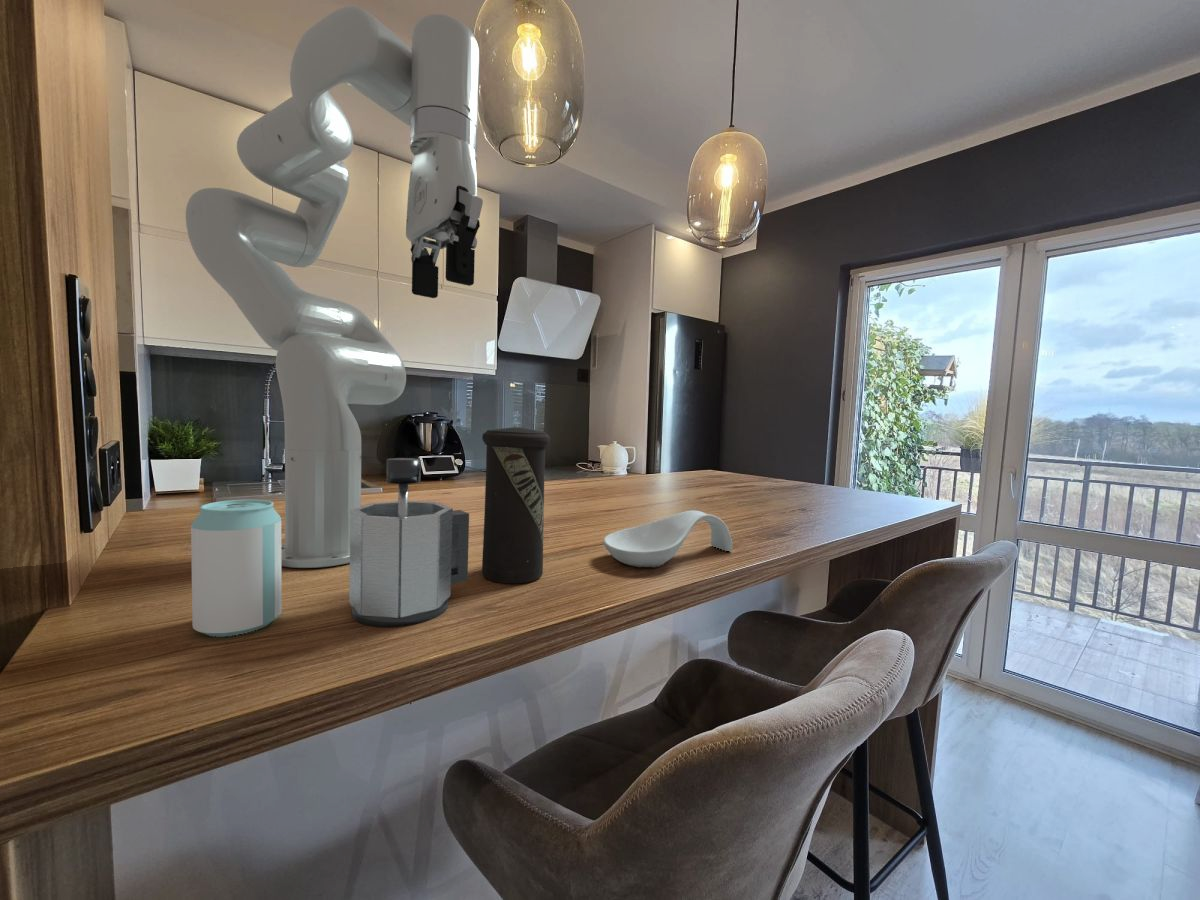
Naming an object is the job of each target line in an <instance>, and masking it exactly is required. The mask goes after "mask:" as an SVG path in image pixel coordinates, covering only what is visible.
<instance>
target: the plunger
mask: <svg viewBox="0 0 1200 900" xmlns="http://www.w3.org/2000/svg"><path fill="white" fill-rule="evenodd" d="M421 461H422V459H420V458H413V457H409V458H407V457H394V458H387V459H386V478H385V479H386V483H387V484H394V485H398V493H397V494H398V495H397V496H398V497H397V498H398V499H397V501H398V517H408V501H409V485H412V484H418V483H421V469H422V468H421V466H422V465H421V464H422V462H421Z"/></svg>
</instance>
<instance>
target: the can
mask: <svg viewBox="0 0 1200 900" xmlns="http://www.w3.org/2000/svg"><path fill="white" fill-rule="evenodd" d="M199 510H200V511H199V514H197V515H198V516H196V518H194V520H193V521H192V523H191V524H190V535H191V536H190V537H191V539H190V540H191V542H190V543H191V544H190V545H191V548H190V549H191V551H190V552H191V600H192V602H191V605H192V606H191V609H192V610H191V611H192V613H191V615H192V617H191V619H192V620H191V623H192V629H193V630H195V631H197V632H199V633H201V634H204V635H207V636H208V637H214V638H225V637H226V636H228V637H235V636H234V635H236V636H239V635H238V634H242V635H244V634H243V633H246V632H250V633H252V632H251V631H253V632H255V631H254V630H256V631H258V629H259V630H261V629H262V628H265V627H266V626H268V625H269V624H271V622H273V621H274V620H276V619H277V618H278V617H279V616H280V615H281V614H282V566H281V546H282V517H281V516H280V514H279V513H278V512H277V510H276V509H275V508H274V502H273V501H270V500H265V499H232V500H221V501H215V502H210V503H209V502H208V503H206V504H202V505H201V506H200V507H199ZM260 628H261V629H260ZM246 634H247V633H246ZM232 635H233V636H232ZM215 636H216V637H215ZM226 638H227V637H226Z"/></svg>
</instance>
